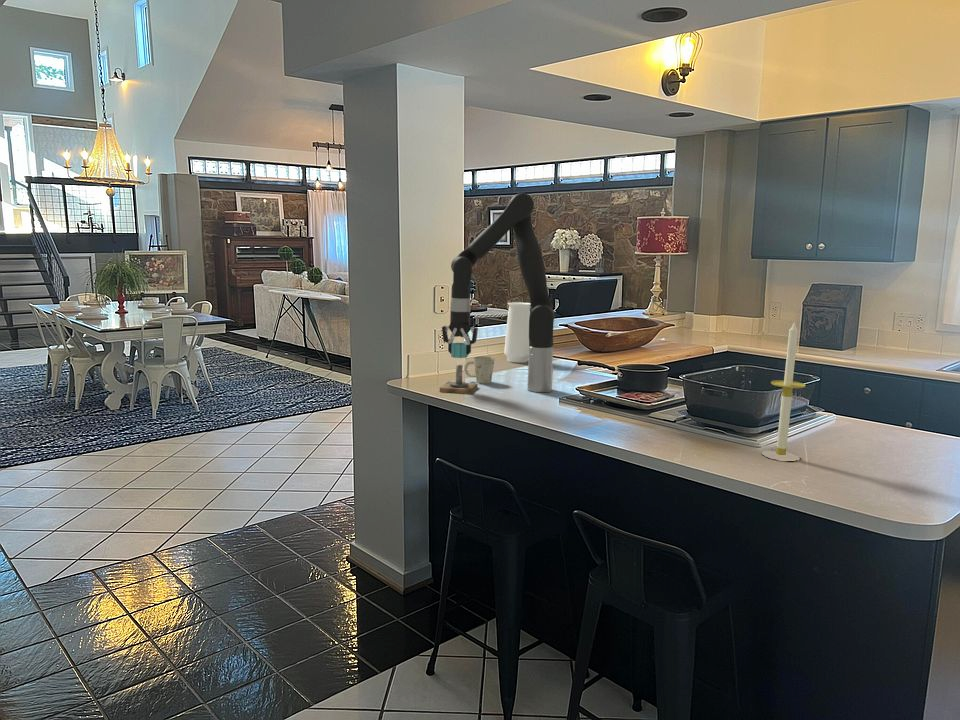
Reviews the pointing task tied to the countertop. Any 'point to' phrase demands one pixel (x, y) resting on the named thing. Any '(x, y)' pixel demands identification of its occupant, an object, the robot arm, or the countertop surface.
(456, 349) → the collar
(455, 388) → the post block
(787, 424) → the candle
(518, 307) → the vase
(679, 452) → the countertop surface
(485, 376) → the mug
